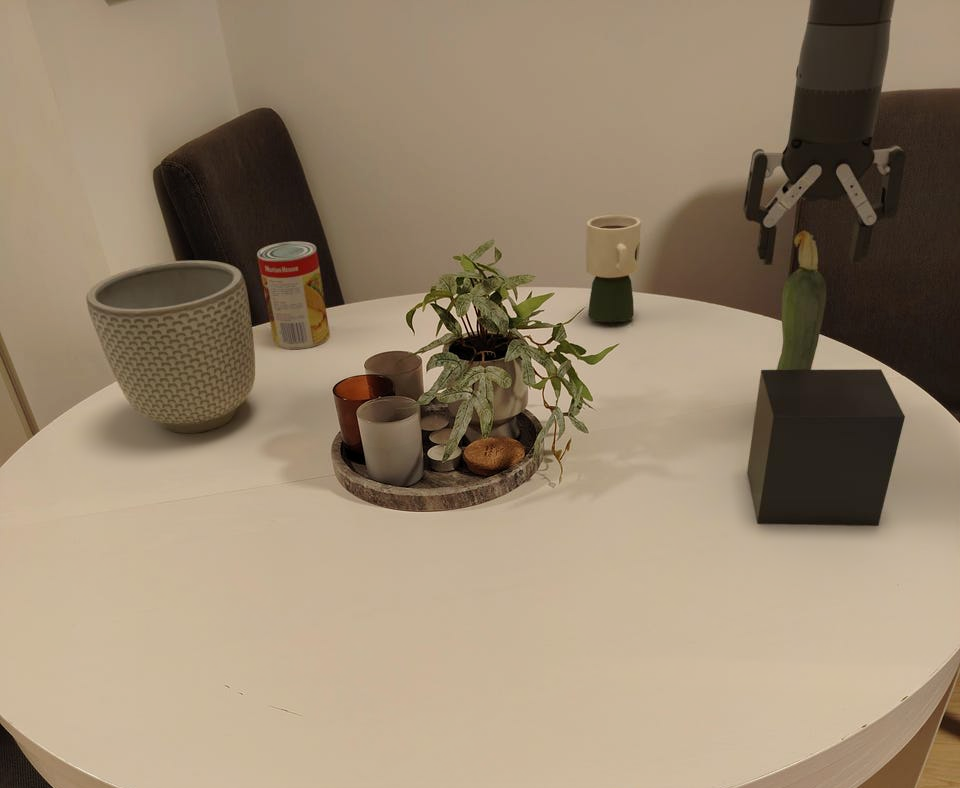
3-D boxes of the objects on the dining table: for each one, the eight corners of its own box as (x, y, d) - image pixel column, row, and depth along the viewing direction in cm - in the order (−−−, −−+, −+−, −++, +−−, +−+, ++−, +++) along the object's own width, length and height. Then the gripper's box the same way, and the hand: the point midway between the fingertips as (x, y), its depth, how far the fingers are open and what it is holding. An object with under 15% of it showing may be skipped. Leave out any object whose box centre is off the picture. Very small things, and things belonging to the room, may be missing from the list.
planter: (109, 413, 117) (66, 282, 107) (239, 376, 124) (210, 249, 114) (153, 466, 105) (110, 324, 95) (294, 421, 112) (268, 285, 102)
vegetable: (806, 409, 108) (840, 224, 95) (802, 426, 104) (837, 238, 92) (766, 405, 109) (794, 222, 96) (761, 422, 106) (790, 235, 93)
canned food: (331, 326, 136) (318, 239, 129) (328, 347, 130) (313, 257, 123) (277, 330, 136) (260, 243, 129) (271, 351, 130) (253, 261, 123)
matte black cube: (855, 464, 97) (877, 361, 90) (878, 525, 88) (905, 416, 81) (745, 463, 99) (759, 362, 92) (757, 523, 90) (773, 416, 83)
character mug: (647, 330, 128) (652, 230, 120) (595, 336, 128) (598, 236, 120) (624, 303, 137) (628, 208, 129) (576, 309, 136) (577, 213, 128)
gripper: (763, 90, 84) (741, 276, 94) (932, 83, 82) (891, 273, 92) (754, 75, 90) (735, 252, 100) (912, 69, 88) (876, 249, 98)
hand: (810, 262), depth 96 cm, fingers open, 8 cm apart
